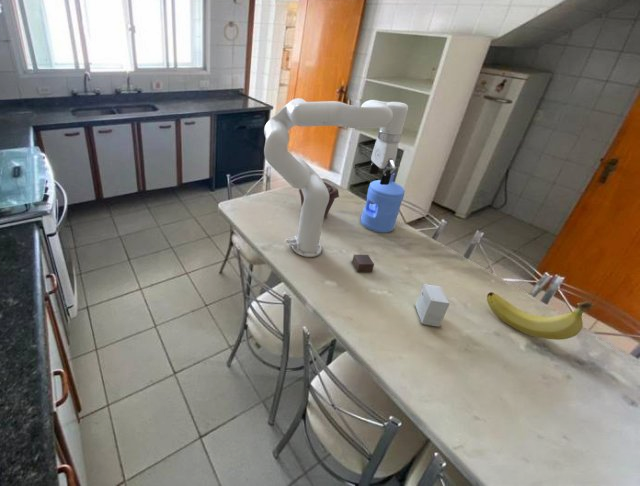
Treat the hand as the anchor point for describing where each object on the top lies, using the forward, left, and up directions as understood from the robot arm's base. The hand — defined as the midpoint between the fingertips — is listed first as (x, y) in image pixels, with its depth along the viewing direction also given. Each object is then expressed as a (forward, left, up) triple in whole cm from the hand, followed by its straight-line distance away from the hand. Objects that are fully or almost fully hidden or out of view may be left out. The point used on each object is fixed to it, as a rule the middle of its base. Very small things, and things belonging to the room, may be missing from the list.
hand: (378, 178), depth 128 cm
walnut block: (-4, -11, -34) cm, 36 cm away
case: (-13, +30, -35) cm, 47 cm away
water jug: (+16, +21, -35) cm, 43 cm away
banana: (+38, -41, -35) cm, 66 cm away
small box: (+9, -36, -35) cm, 51 cm away
